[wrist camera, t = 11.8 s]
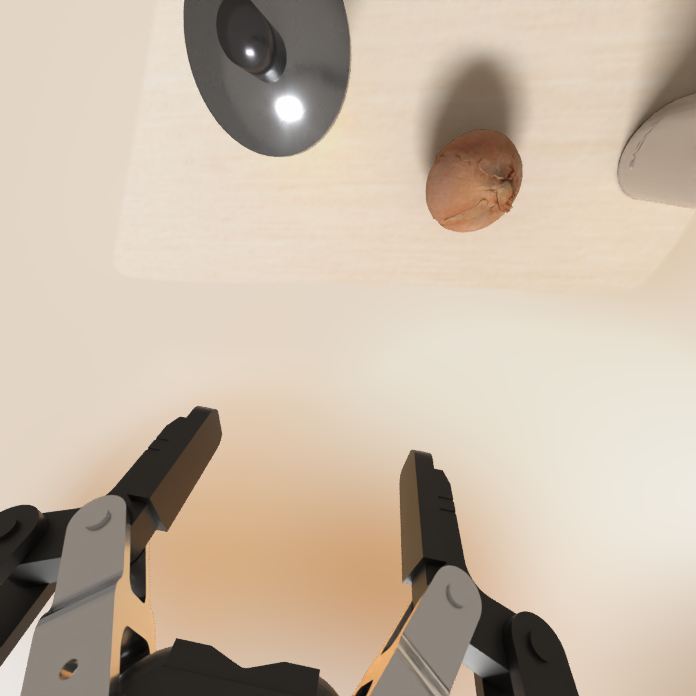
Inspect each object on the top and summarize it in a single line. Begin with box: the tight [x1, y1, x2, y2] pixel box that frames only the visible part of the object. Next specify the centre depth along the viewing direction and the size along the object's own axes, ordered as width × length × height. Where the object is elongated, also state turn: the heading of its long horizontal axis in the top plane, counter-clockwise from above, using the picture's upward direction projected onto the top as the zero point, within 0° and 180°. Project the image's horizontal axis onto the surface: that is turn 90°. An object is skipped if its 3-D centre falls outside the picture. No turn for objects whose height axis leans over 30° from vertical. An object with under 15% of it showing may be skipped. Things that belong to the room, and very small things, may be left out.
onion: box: [426, 129, 522, 232], centre depth 30 cm, size 10×9×10 cm
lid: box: [184, 0, 351, 157], centre depth 20 cm, size 13×13×6 cm
